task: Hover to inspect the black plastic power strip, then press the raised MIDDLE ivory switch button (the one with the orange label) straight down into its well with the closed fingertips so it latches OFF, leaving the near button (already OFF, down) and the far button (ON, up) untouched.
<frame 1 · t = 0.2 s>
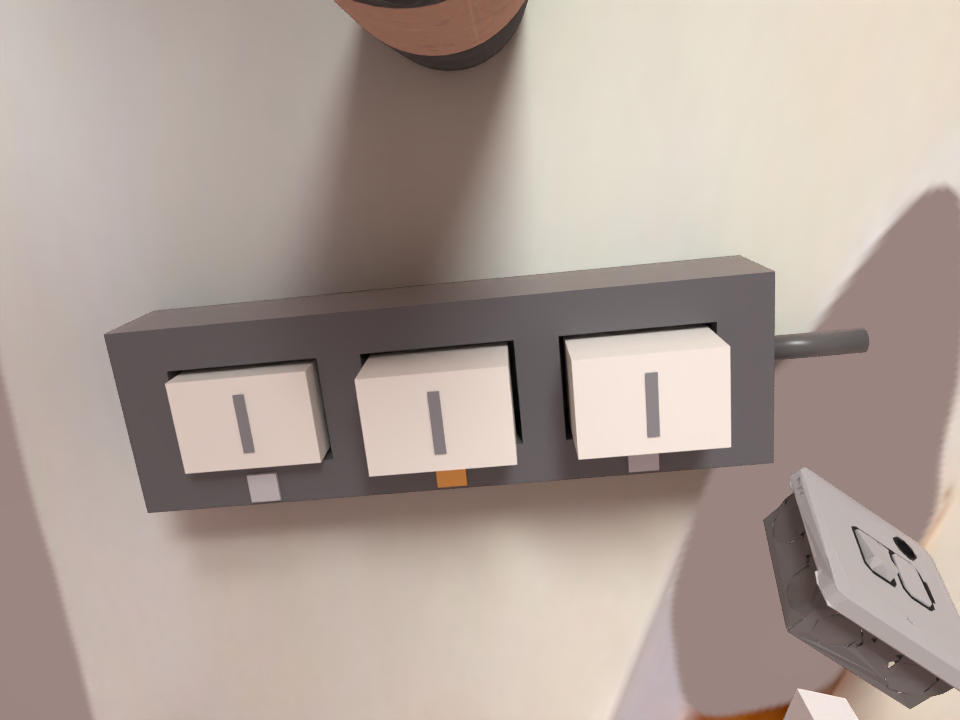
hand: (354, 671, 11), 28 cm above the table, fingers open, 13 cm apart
electrical switch: (830, 540, 41), on the table
power strip: (449, 368, 39), on the table
button 1: (260, 405, 36), point 4 cm above the table, slide at 2.0 cm
button 2: (441, 403, 34), point 6 cm above the table, slide at 0.0 cm
button 3: (641, 386, 33), point 6 cm above the table, slide at 0.0 cm
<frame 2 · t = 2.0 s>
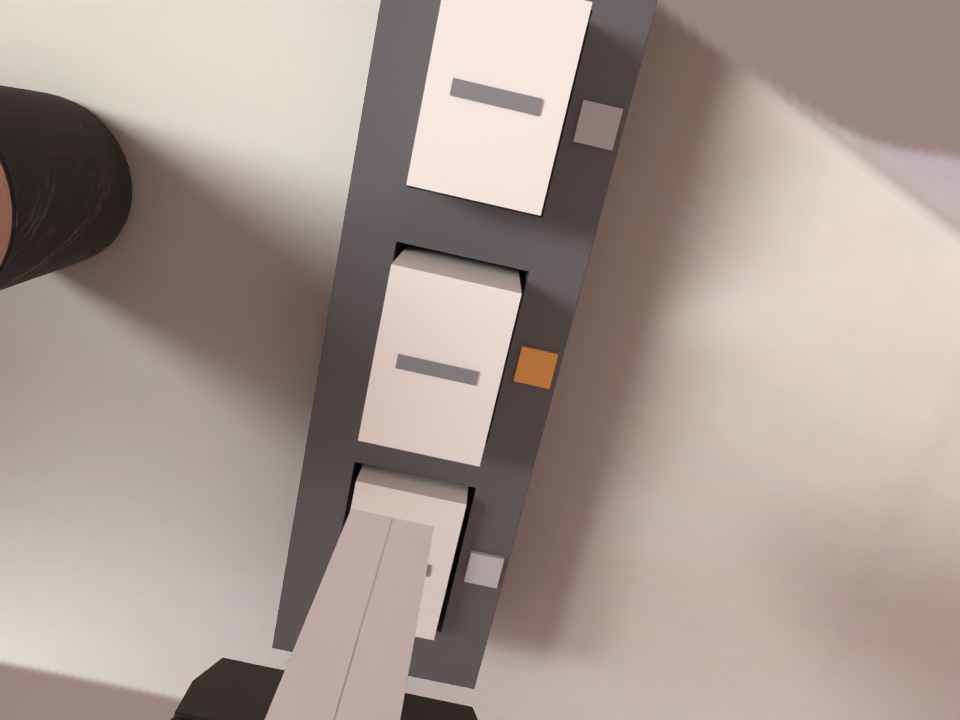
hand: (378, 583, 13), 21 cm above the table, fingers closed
power strip: (451, 316, 33), on the table
travel mug: (53, 180, 32), on the table
button 1: (403, 532, 32), point 4 cm above the table, slide at 2.0 cm
button 2: (442, 349, 28), point 6 cm above the table, slide at 0.0 cm
button 3: (496, 100, 25), point 6 cm above the table, slide at 0.0 cm
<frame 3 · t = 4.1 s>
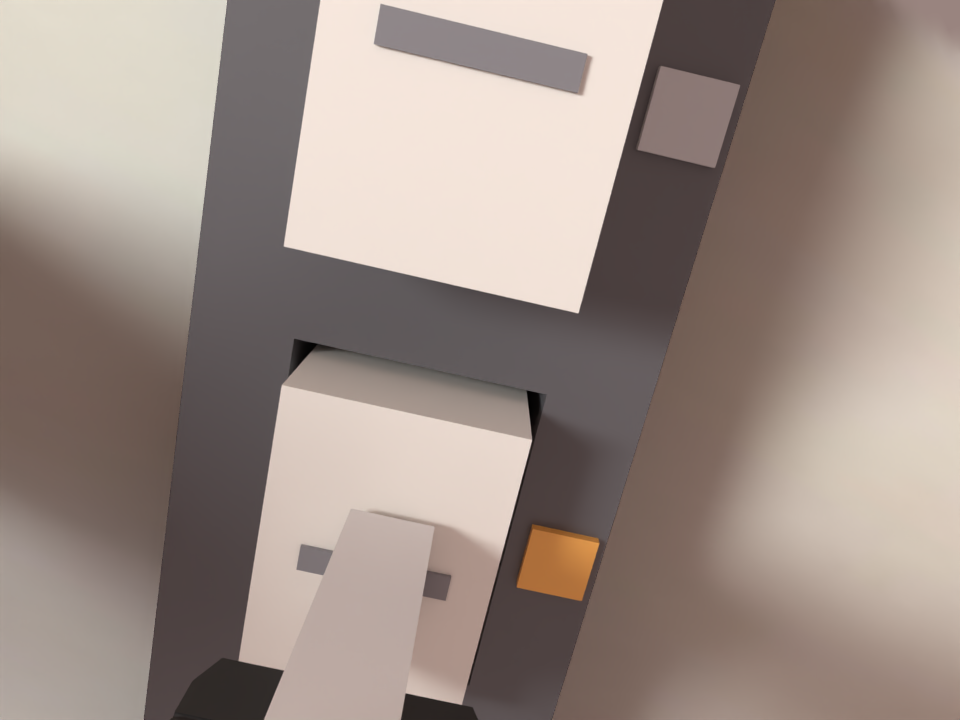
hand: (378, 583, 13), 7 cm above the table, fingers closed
power strip: (414, 432, 20), on the table
button 2: (392, 507, 16), point 4 cm above the table, slide at 1.3 cm, touching gripper
button 3: (483, 66, 12), point 6 cm above the table, slide at 0.0 cm
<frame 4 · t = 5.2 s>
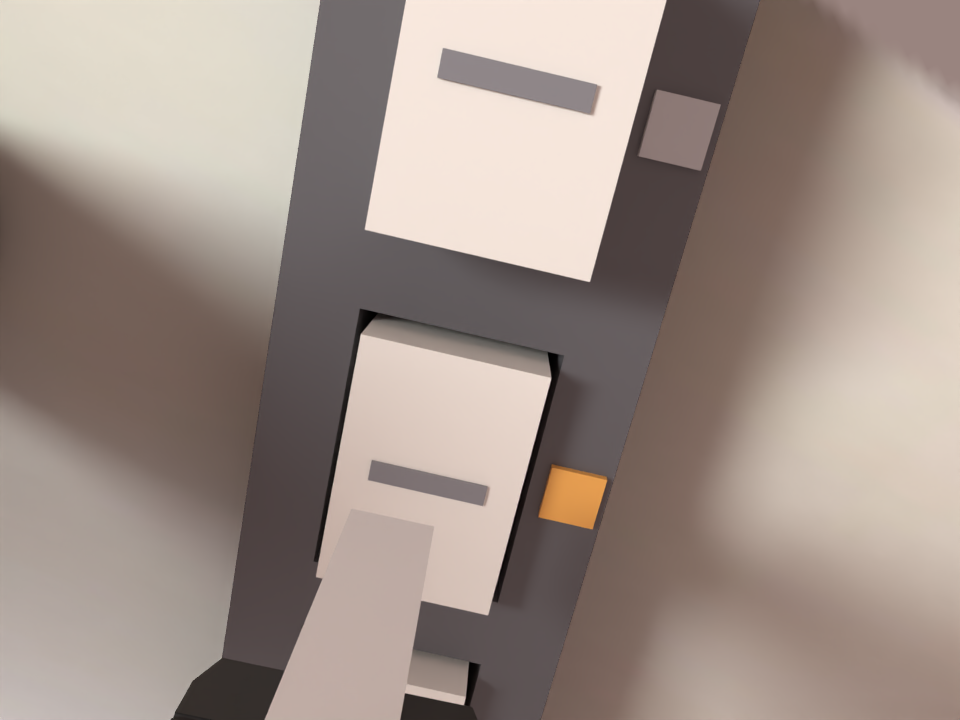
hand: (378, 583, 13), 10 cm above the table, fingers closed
power strip: (449, 398, 23), on the table
button 1: (377, 708, 23), point 4 cm above the table, slide at 2.0 cm
button 2: (438, 442, 20), point 4 cm above the table, slide at 1.9 cm
button 3: (516, 90, 16), point 6 cm above the table, slide at 0.0 cm
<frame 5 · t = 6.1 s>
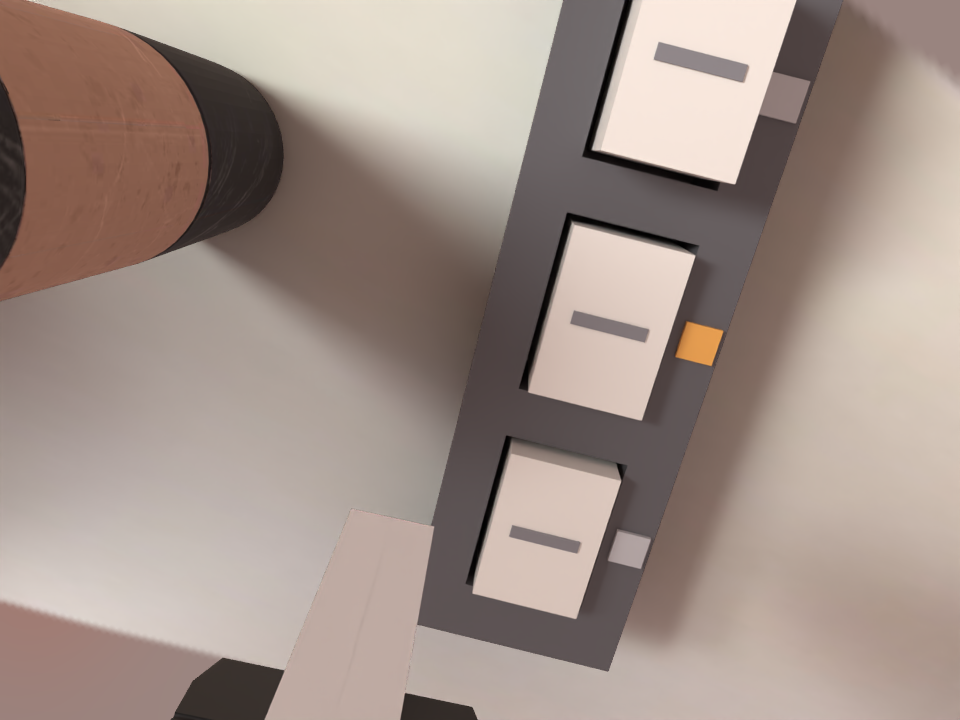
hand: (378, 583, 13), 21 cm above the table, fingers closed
power strip: (594, 294, 33), on the table
travel mug: (205, 148, 32), on the table
button 1: (543, 510, 32), point 4 cm above the table, slide at 2.0 cm
button 2: (602, 311, 29), point 4 cm above the table, slide at 1.9 cm
button 3: (683, 70, 25), point 6 cm above the table, slide at 0.0 cm
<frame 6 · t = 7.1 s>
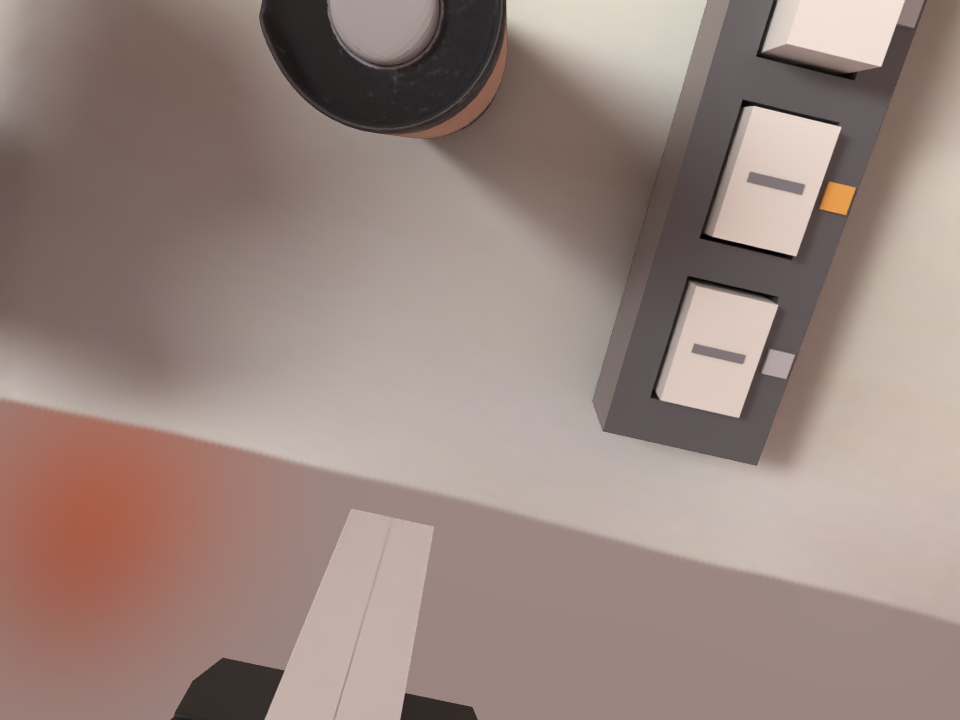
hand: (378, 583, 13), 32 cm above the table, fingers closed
power strip: (737, 177, 42), on the table
travel mug: (437, 67, 41), on the table
button 1: (705, 341, 42), point 4 cm above the table, slide at 2.0 cm
button 2: (758, 180, 39), point 4 cm above the table, slide at 1.9 cm
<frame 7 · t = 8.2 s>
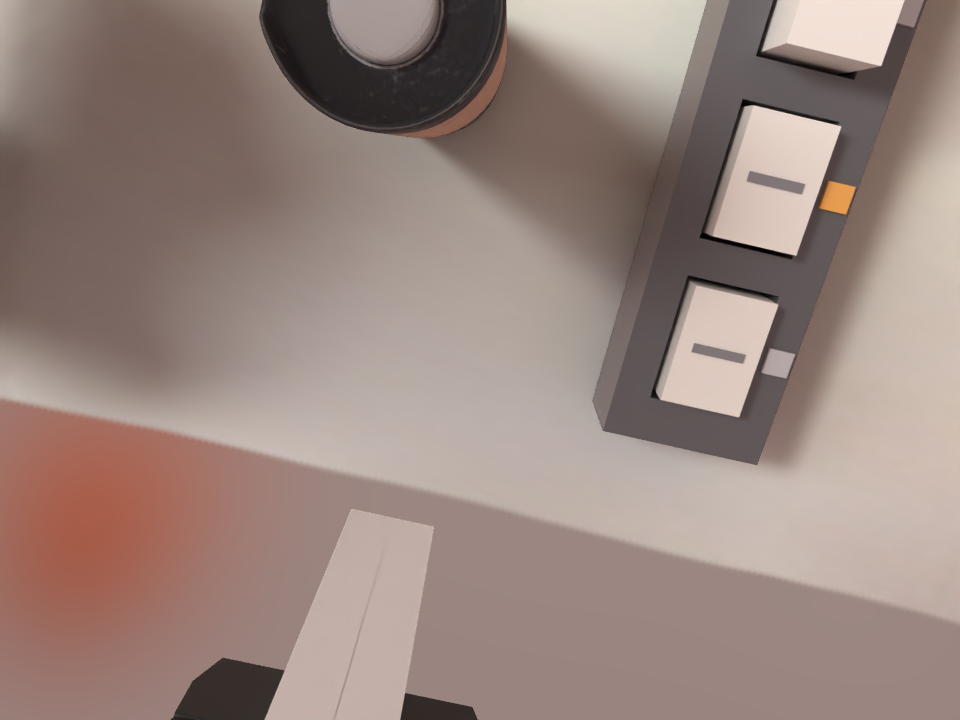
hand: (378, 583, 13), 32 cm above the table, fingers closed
power strip: (737, 176, 42), on the table
travel mug: (437, 67, 41), on the table
button 1: (705, 341, 42), point 4 cm above the table, slide at 2.0 cm
button 2: (758, 180, 39), point 4 cm above the table, slide at 1.9 cm
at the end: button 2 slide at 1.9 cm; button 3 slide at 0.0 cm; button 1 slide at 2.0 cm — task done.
